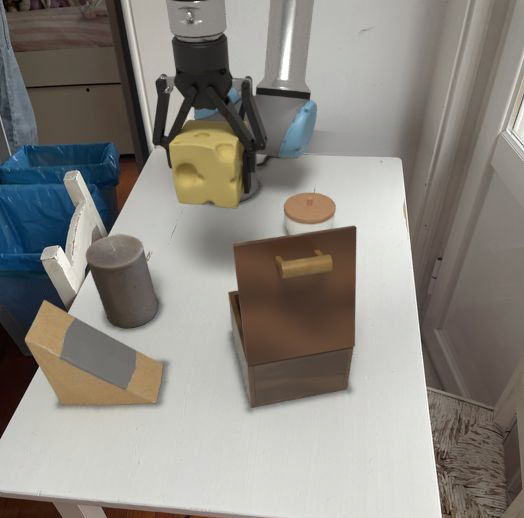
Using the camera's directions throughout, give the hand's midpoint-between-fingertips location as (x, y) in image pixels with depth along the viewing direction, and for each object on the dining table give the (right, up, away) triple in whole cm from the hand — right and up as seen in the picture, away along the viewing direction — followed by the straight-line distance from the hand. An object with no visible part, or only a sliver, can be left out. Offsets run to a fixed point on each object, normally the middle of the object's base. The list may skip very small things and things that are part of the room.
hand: (214, 188), depth 81 cm
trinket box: (+18, -3, +25) cm, 31 cm away
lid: (+13, -20, -17) cm, 29 cm away
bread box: (+12, -29, +1) cm, 31 cm away
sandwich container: (-16, -33, -2) cm, 37 cm away
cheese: (0, -1, +1) cm, 1 cm away
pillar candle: (-16, -20, +10) cm, 28 cm away
